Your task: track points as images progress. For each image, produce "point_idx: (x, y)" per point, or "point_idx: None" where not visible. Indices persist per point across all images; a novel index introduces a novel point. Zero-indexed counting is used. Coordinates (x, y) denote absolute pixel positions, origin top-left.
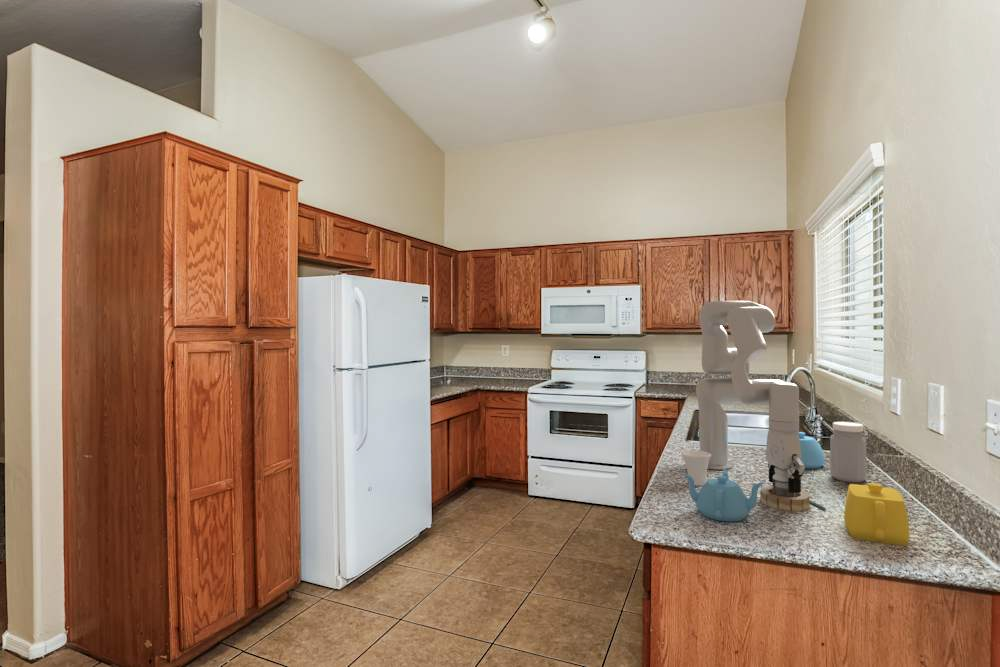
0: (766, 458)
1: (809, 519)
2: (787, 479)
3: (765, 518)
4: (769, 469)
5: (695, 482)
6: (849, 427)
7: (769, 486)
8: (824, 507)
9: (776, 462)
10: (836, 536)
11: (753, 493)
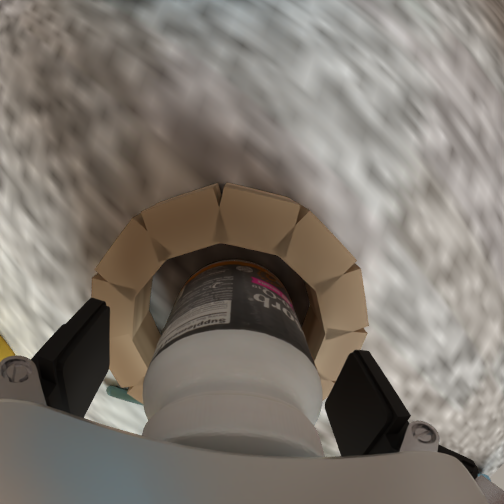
0: (461, 471)
1: (23, 244)
2: (147, 392)
3: (75, 53)
4: (396, 411)
5: None
6: None
7: (363, 341)
8: (111, 395)
9: (173, 502)
10: None
11: None
